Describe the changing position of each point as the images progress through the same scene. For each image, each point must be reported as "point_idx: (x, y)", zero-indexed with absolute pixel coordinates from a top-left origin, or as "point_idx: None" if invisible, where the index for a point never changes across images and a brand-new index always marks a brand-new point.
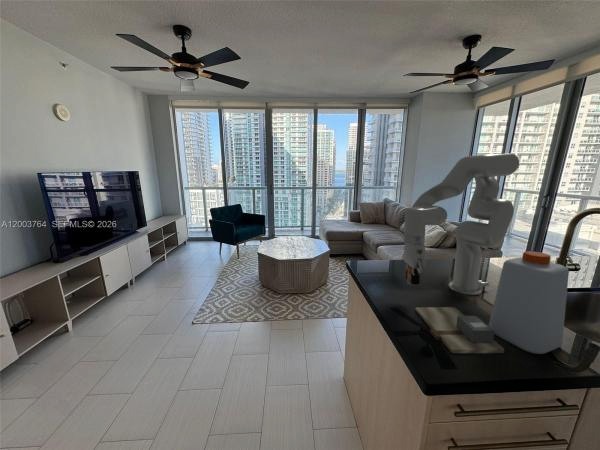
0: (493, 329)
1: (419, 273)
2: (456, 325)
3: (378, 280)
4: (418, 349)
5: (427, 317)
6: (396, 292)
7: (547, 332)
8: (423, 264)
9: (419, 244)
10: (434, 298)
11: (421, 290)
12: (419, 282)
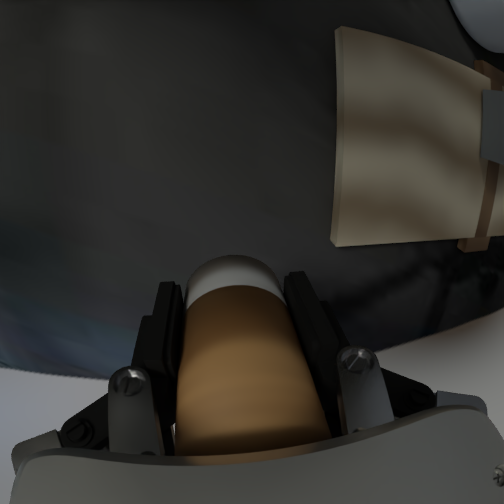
0: (497, 51)
1: (406, 387)
2: (484, 158)
3: (18, 314)
4: (479, 299)
5: (417, 229)
6: (121, 273)
7: None
8: (494, 463)
9: None
10: (184, 63)
11: (73, 112)
12: (306, 277)
